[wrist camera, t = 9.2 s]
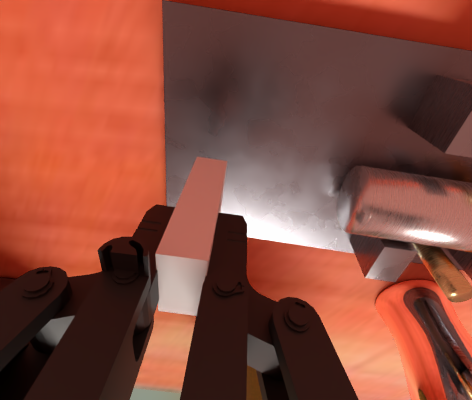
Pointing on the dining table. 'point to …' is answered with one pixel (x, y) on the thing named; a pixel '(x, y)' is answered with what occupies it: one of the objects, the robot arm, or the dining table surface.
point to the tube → (406, 208)
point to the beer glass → (428, 340)
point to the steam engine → (314, 126)
